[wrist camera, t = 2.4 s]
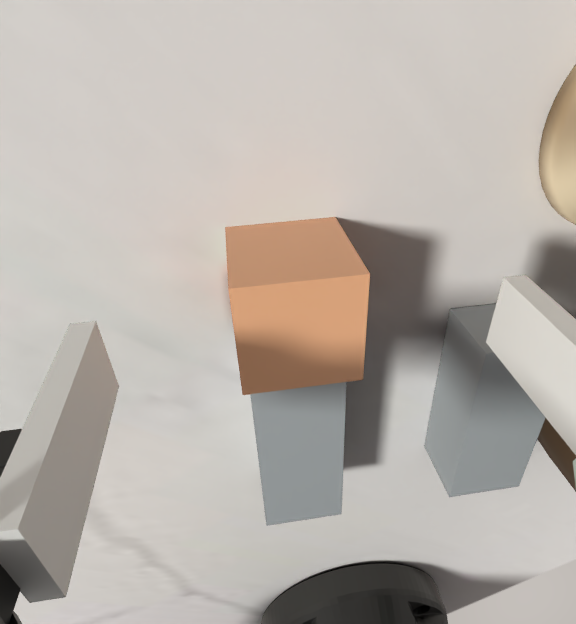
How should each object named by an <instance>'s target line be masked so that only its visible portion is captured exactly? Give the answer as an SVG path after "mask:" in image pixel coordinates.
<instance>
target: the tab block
mask: <svg viewBox="0 0 576 624" xmlns="http://www.w3.org/2000/svg"><path fill="white" fill-rule="evenodd" d="M225 232H226V251H227V270H228V289H229V296H230V304H231V311H232V319H233V326H234V334H235V341H236V349H237V356H238V363H239V371H240V378H241V386H242V393H243V395H248V394H255V393H263V392H271V391H279V390H287V389H295V388H303V387H310V386H318V385H326V384H334V383H342V382H350V381H358V380H363V372H364V357H365V342H366V327H367V312H368V297H369V283H370V273H369V271H368V270H367V268H366V266H365V265H364V263H363V262H362V260H361V258H360V257H359V255H358V253H357V252H356V250H355V248H354V247H353V245H352V243H351V242H350V240H349V239H348V237H347V235H346V234H345V232H344V230H343V229H342V227H341V225H340V224H339V222H338V221H337V219H336V217H330V218H319V219H309V220H298V221H287V222H276V223H266V224H255V225H244V226H234V227H225Z"/></svg>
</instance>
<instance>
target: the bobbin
mask: <svg viewBox="0 0 576 624" xmlns="http://www.w3.org/2000/svg"><path fill="white" fill-rule="evenodd" d="M539 174H540V179H541V184H542V188H543V190H544V193H545V196H546V198H547V199H548V201H549V203H550V204H551V206H552V207H553V208H554V209H555V210H556V212H557V213H558V214H560V215H561V216H562V217H564V218H565V219H566V220H568V221H570V222H571V223H573V224H575V225H576V65H575V66H574V68H573V69H572V71H571V72H570V74H569V75H568V77H567V78H566V80H565V81H564V83H563V85H562V87H561V89H560V90H559V92H558V94H557V96H556V98H555V100H554V102H553V105H552V107H551V109H550V112H549V114H548V117H547V120H546V123H545V127H544V130H543V134H542V139H541V144H540V153H539Z"/></svg>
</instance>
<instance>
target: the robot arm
mask: <svg viewBox="0 0 576 624" xmlns="http://www.w3.org/2000/svg"><path fill="white" fill-rule="evenodd" d="M486 343H487V344H488V346H489V347H490V348H491V349H492V351H493V352H494V353H495V354H496V356H497V357H498V358H499V359H500V361H501V362H502V363H503V365H504V366H505V367H506V368H507V370H508V371H509V372H510V373H511V375H512V376H513V377H514V378H515V380H516V381H517V382H518V383H519V385H520V386H521V387H522V388H523V390H524V391H525V392H526V393H527V395H528V396H529V397H530V398H531V400H532V401H533V402H534V403H535V405H536V406H537V407H538V408H539V410H540V411H541V412H542V414H543V415H544V416H545V417H546V419H547V420H548V421H549V422H550V424H551V425H552V426H553V427H554V429H555V430H556V431H557V432H558V434H559V435H560V436H561V437H562V439H563V440H564V441H565V442H566V444H567V445H568V446H569V447H570V449H571V450H572V451H573V452H574V454H575V455H576V319H575V318H574V317H573V316H572V315H571V314H569V313H568V312H567V311H566V310H565V309H564V308H563V307H561V306H560V305H559V304H558V303H557V302H556V301H555V300H553V299H552V298H551V297H550V296H549V295H548V294H547V293H545V292H544V291H543V290H542V289H541V288H540V287H539V286H537V285H536V284H535V283H534V282H533V281H532V280H531V279H530V278H528V277H527V276H526V275H520V276H510V277H503V281H502V285H501V288H500V292H499V296H498V299H497V303H496V307H495V310H494V314H493V318H492V322H491V325H490V329H489V333H488V336H487V340H486ZM118 388H119V385H118V382H117V379H116V377H115V374H114V371H113V368H112V365H111V363H110V360H109V357H108V354H107V351H106V348H105V346H104V343H103V340H102V337H101V334H100V331H99V329H98V326H97V323H96V321H92V322H82V323H73V324H70V325H69V327H68V329H67V331H66V334H65V336H64V338H63V340H62V343H61V345H60V347H59V349H58V351H57V354H56V356H55V358H54V360H53V362H52V365H51V367H50V369H49V371H48V373H47V376H46V378H45V380H44V382H43V384H42V387H41V389H40V391H39V393H38V395H37V398H36V400H35V402H34V404H33V406H32V409H31V411H30V413H29V415H28V417H27V420H26V422H25V424H24V426H23V428H22V429H17V430H9V431H1V432H0V624H22V623H21V621H20V619H19V617H18V616H17V614H16V613H15V612H14V611H13V610H14V607H15V604H16V601H17V598H18V595H19V592H21V593H22V594H23V595H24V596H25V598H26V599H27V600H28V601H29V603H31V602H38V601H44V600H50V599H57V598H63V597H66V595H67V591H68V587H69V583H70V579H71V575H72V571H73V567H74V563H75V559H76V555H77V551H78V547H79V543H80V539H81V535H82V531H83V527H84V523H85V519H86V515H87V511H88V507H89V503H90V499H91V495H92V491H93V487H94V483H95V479H96V475H97V472H98V468H99V464H100V460H101V456H102V452H103V448H104V444H105V440H106V436H107V432H108V428H109V424H110V420H111V416H112V412H113V408H114V404H115V400H116V396H117V392H118ZM261 624H448V621H447V615H446V611H445V607H444V605H443V602H442V600H441V597H440V595H439V592H438V589H437V587H436V584H435V582H434V581H433V579H432V578H431V577H430V576H429V575H427V574H426V573H424V572H422V571H421V570H418V569H416V568H412V567H409V566H404V565H397V564H366V565H358V566H352V567H346V568H342V569H338V570H334V571H330V572H327V573H324V574H321V575H318V576H315V577H313V578H310V579H308V580H306V581H304V582H302V583H300V584H298V585H296V586H294V587H292V588H291V589H289V590H287V591H286V592H284V593H283V594H282V595H280V596H279V597H278V598H277V599H276V600H274V601H273V602H272V603H271V604H270V606H269V607H268V608H267V610H266V611H265V613H264V615H263V617H262V620H261Z"/></svg>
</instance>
